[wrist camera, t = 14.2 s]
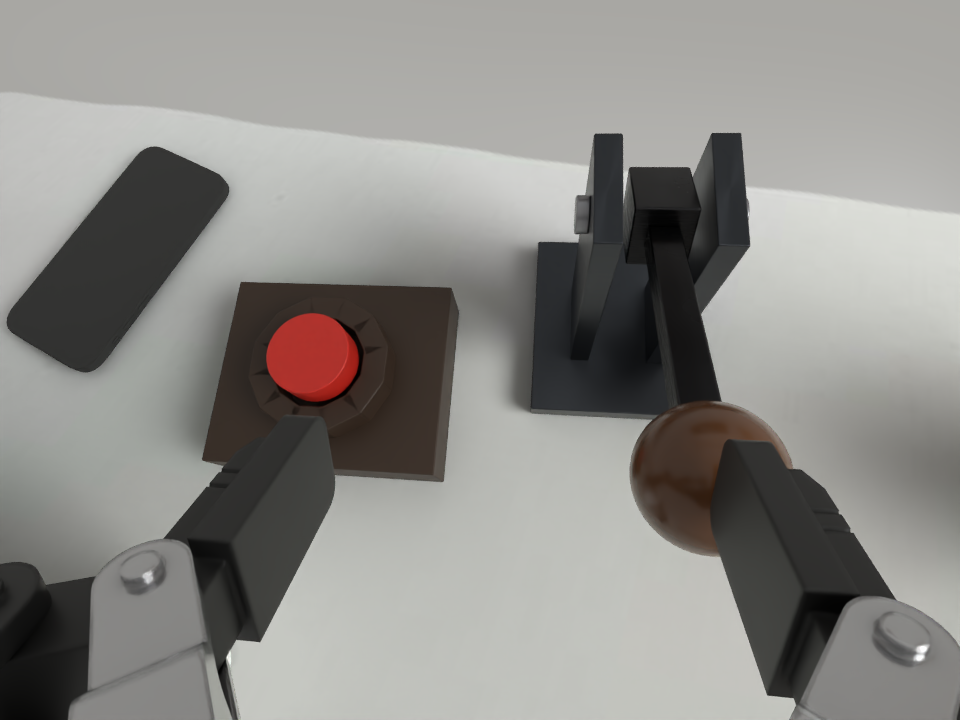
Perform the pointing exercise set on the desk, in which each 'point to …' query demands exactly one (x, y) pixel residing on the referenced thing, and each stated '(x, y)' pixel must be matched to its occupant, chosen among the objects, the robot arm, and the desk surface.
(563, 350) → the switch bracket
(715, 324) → the desk surface
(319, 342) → the stop button
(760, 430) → the power lever
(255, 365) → the control block
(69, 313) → the phone
